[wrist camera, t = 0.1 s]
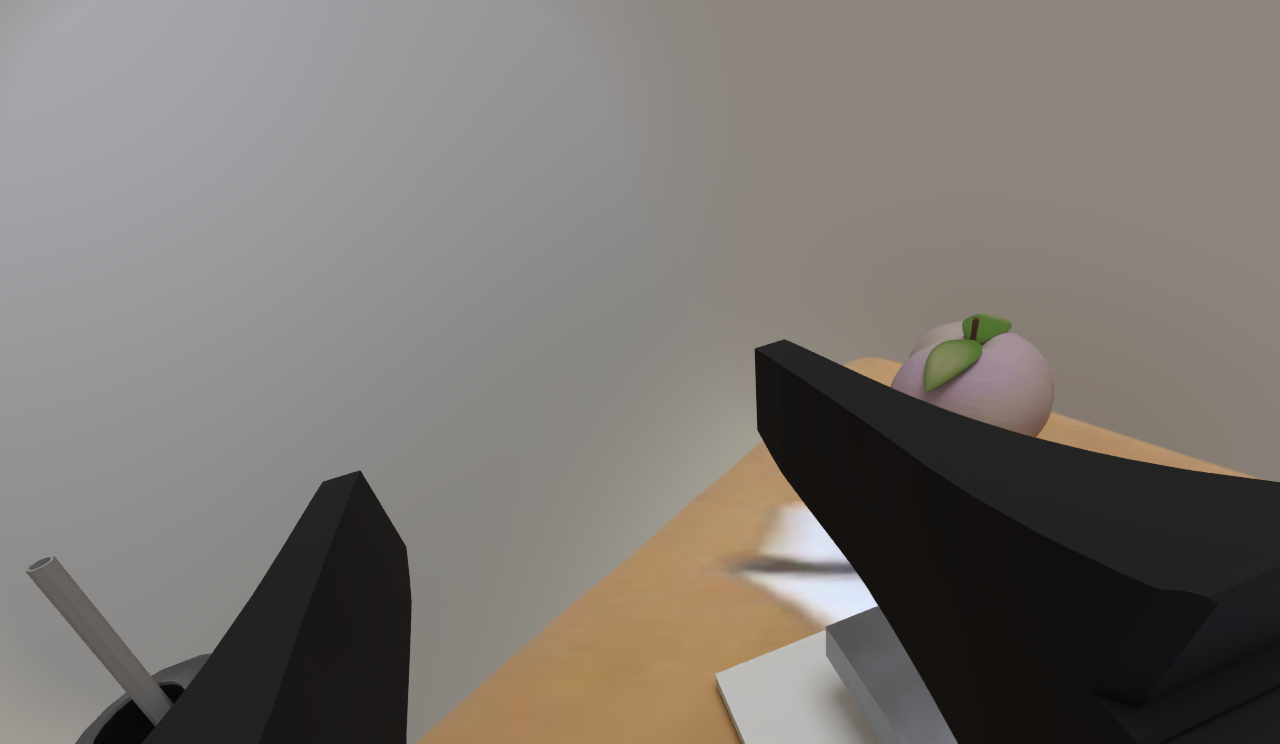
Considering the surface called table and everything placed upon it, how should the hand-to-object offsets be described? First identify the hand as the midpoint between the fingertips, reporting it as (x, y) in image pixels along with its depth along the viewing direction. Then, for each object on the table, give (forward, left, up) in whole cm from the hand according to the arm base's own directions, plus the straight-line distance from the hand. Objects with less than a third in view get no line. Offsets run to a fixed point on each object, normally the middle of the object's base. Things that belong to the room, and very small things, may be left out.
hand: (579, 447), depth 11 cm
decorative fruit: (+15, -24, -22) cm, 36 cm away
